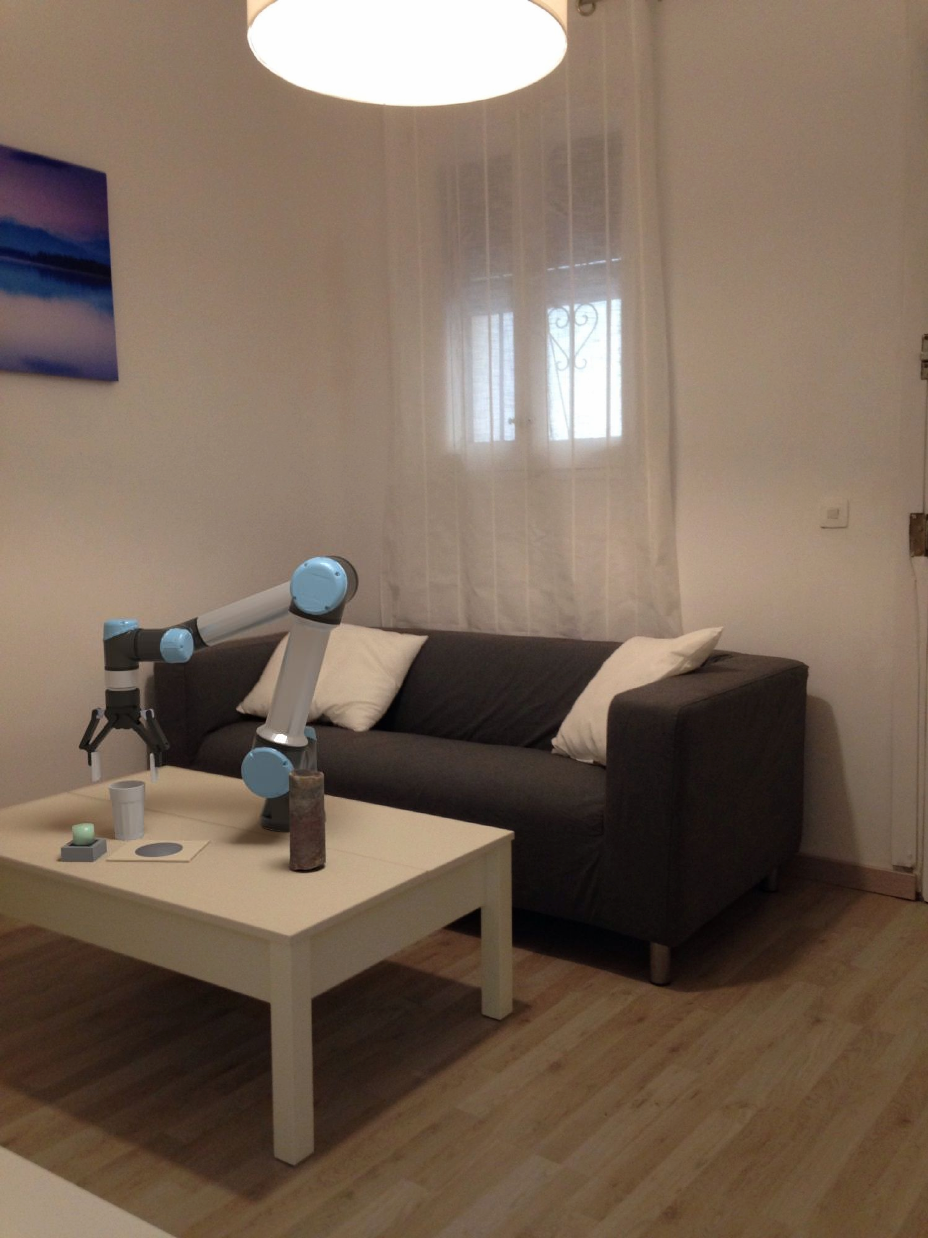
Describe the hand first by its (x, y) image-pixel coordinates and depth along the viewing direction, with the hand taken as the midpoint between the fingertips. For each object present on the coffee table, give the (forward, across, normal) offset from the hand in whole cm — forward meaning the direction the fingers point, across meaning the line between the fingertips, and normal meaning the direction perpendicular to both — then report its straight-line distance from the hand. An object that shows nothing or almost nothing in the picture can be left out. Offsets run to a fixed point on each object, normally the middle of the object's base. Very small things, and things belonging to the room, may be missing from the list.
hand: (125, 780), depth 253 cm
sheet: (+13, -12, +11) cm, 20 cm away
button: (+10, +3, +15) cm, 18 cm away
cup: (+13, -1, 0) cm, 13 cm away
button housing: (+13, +3, +15) cm, 20 cm away
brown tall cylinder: (+12, -47, +20) cm, 52 cm away
